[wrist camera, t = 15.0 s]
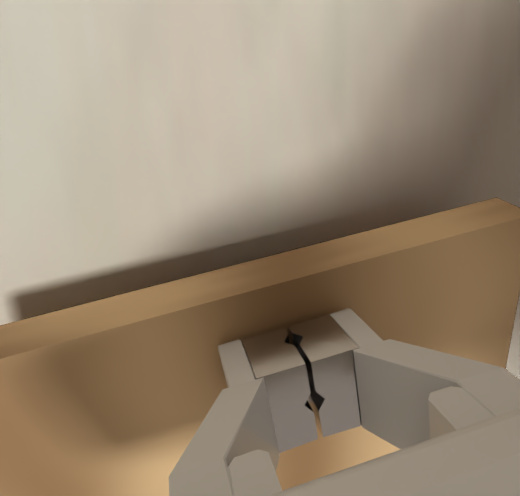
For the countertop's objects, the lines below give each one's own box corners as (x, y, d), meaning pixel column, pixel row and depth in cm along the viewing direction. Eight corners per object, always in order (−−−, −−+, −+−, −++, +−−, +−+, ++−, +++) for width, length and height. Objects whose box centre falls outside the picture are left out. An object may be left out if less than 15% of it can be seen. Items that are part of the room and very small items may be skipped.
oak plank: (71, 594, 13) (66, 640, 12) (-95, 349, 9) (-125, 392, 8) (461, 447, 16) (485, 476, 15) (496, 197, 11) (534, 213, 10)
